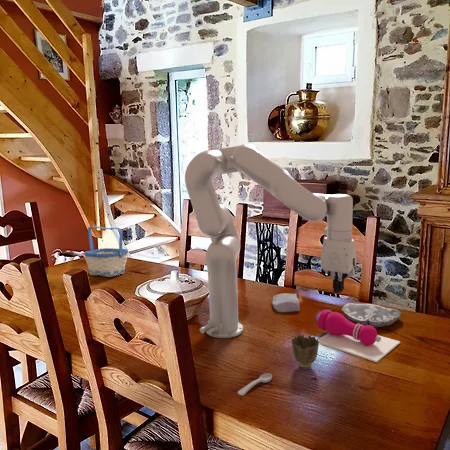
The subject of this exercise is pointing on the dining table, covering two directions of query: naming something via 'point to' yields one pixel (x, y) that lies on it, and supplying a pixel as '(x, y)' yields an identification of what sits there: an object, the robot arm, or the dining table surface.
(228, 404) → the dining table surface
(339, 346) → the white mat
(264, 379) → the spoon
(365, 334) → the pepper mill
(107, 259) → the basket
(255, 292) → the dining table surface
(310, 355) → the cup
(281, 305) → the stone block
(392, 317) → the brain slice
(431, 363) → the dining table surface
